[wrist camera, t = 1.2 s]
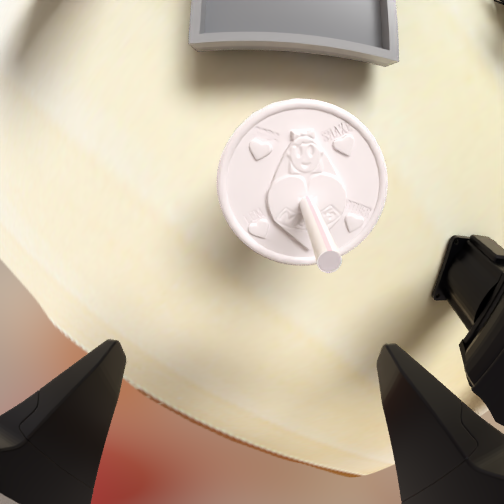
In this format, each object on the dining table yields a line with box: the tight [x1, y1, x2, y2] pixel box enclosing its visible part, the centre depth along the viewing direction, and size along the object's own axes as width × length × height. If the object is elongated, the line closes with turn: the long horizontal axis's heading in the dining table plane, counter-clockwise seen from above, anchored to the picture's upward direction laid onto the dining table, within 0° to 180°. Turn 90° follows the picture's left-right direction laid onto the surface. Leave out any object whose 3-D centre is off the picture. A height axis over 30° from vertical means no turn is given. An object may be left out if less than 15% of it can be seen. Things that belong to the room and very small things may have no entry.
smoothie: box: [217, 98, 388, 273], centre depth 12 cm, size 6×6×14 cm
